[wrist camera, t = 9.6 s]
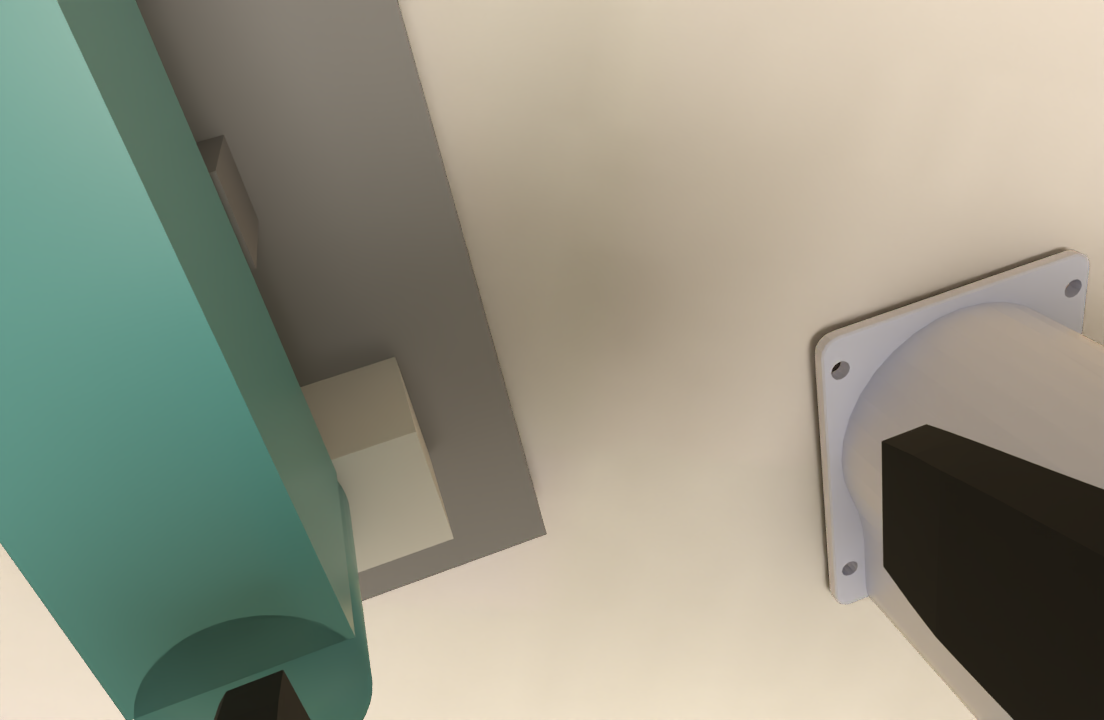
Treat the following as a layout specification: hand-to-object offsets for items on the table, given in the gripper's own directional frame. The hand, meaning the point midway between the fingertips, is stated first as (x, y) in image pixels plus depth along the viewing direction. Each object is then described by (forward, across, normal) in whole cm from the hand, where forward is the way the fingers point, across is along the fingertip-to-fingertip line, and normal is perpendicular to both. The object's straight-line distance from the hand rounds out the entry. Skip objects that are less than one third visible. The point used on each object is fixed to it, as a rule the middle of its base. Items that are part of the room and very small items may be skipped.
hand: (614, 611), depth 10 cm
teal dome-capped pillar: (+6, +5, -4) cm, 8 cm away
